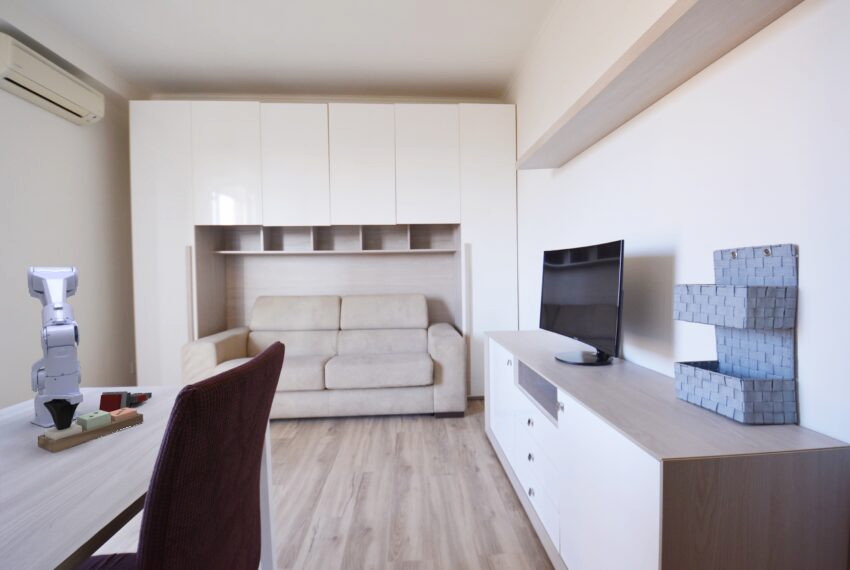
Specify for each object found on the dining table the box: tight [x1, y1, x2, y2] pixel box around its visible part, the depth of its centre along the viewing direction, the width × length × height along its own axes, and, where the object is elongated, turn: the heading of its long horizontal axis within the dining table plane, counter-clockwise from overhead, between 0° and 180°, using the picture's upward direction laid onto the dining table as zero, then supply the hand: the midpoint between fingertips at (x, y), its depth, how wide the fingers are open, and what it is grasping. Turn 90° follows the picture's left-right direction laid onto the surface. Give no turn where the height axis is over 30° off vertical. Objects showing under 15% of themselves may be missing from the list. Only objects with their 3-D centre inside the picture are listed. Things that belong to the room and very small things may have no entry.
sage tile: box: [76, 409, 111, 431], centre depth 94 cm, size 5×5×4 cm
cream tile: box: [44, 422, 82, 441], centre depth 89 cm, size 5×5×4 cm
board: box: [37, 412, 144, 454], centre depth 94 cm, size 8×19×2 cm, turn 156°
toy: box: [98, 390, 153, 412], centre depth 115 cm, size 9×6×15 cm
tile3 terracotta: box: [109, 407, 138, 422], centre depth 100 cm, size 5×5×4 cm
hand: (63, 428), depth 89 cm, fingers closed, pressing on cream tile
